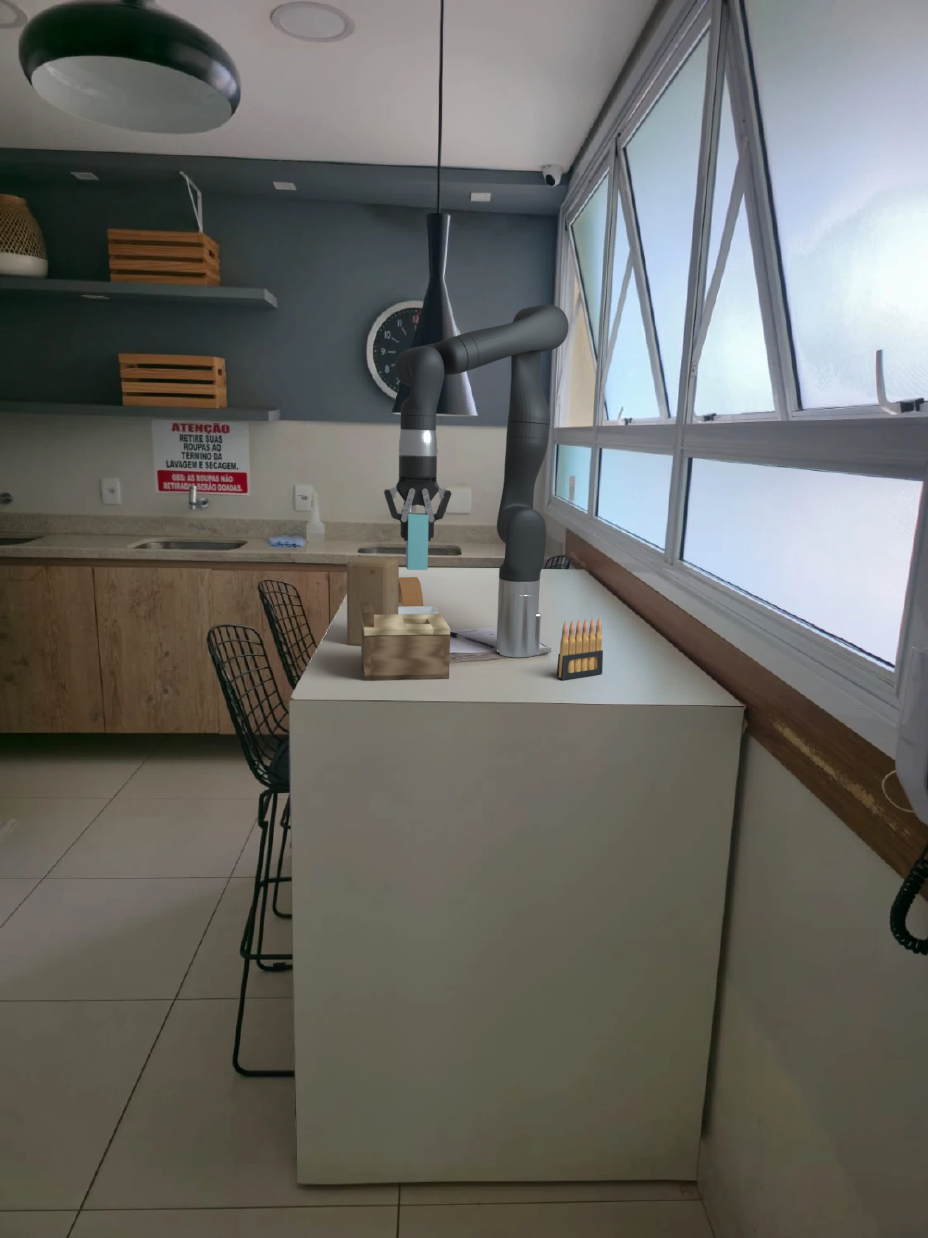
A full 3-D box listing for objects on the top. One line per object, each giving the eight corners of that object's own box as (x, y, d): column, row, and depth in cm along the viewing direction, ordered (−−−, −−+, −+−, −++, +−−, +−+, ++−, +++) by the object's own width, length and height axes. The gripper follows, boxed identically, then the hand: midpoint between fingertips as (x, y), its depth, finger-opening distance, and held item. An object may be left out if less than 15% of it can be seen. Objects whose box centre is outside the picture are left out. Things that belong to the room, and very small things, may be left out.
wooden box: (439, 660, 174) (440, 620, 173) (449, 678, 161) (450, 635, 159) (361, 662, 172) (361, 621, 170) (364, 680, 158) (364, 636, 156)
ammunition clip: (561, 680, 162) (564, 622, 160) (556, 677, 164) (559, 620, 161) (602, 673, 168) (606, 618, 165) (596, 671, 169) (600, 616, 167)
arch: (402, 620, 214) (402, 583, 212) (392, 605, 233) (392, 572, 231) (423, 620, 215) (424, 583, 213) (411, 605, 234) (412, 571, 232)
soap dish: (437, 624, 211) (437, 605, 210) (440, 632, 201) (441, 613, 200) (389, 624, 209) (389, 605, 208) (391, 632, 200) (391, 613, 199)
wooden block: (387, 649, 183) (387, 563, 179) (345, 646, 185) (345, 560, 180) (399, 639, 192) (399, 557, 188) (359, 636, 194) (359, 555, 190)
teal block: (425, 566, 164) (426, 513, 162) (427, 569, 160) (428, 515, 158) (405, 566, 164) (406, 513, 161) (407, 569, 160) (408, 514, 157)
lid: (440, 619, 173) (440, 600, 172) (450, 634, 159) (450, 613, 158) (361, 620, 170) (361, 600, 169) (364, 635, 156) (364, 614, 155)
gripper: (450, 454, 162) (448, 538, 166) (380, 452, 160) (380, 538, 163) (456, 454, 155) (454, 543, 158) (383, 453, 152) (382, 542, 156)
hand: (416, 540), depth 161 cm, fingers closed on teal block, 4 cm apart
